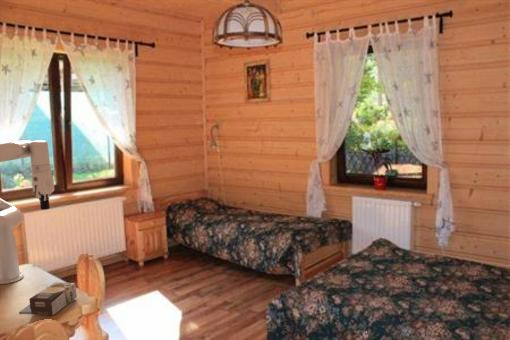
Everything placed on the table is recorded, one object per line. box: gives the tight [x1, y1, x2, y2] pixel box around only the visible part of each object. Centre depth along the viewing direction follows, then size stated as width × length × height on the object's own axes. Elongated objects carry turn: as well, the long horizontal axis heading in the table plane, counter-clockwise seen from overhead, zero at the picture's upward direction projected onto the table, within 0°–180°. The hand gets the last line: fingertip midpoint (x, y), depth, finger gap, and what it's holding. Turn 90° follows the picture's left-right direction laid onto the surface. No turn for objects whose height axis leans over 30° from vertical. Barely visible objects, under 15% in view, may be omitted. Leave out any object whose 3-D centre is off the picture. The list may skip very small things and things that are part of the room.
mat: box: [18, 303, 31, 314], centre depth 176 cm, size 12×13×1 cm
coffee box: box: [28, 281, 78, 316], centre depth 174 cm, size 9×6×16 cm
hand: (45, 209), depth 202 cm, fingers closed
